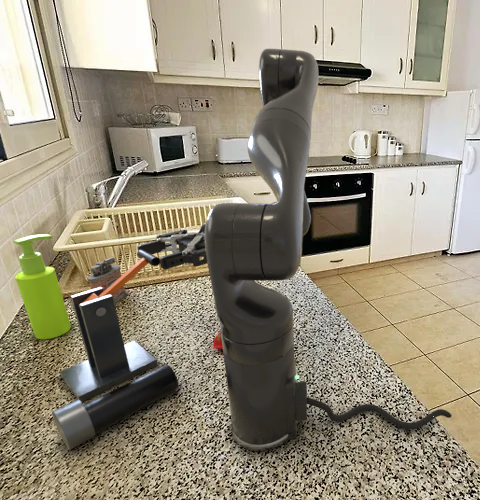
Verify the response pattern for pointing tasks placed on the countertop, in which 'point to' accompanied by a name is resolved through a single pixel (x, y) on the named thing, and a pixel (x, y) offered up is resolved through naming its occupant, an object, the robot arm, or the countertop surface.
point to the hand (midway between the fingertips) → (149, 257)
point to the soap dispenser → (41, 292)
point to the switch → (128, 274)
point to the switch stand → (103, 348)
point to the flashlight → (112, 406)
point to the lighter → (106, 277)
